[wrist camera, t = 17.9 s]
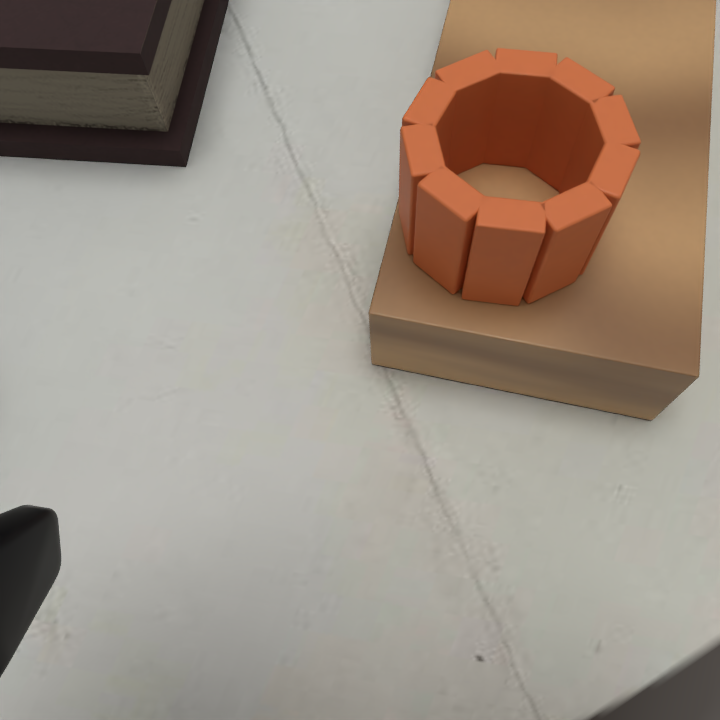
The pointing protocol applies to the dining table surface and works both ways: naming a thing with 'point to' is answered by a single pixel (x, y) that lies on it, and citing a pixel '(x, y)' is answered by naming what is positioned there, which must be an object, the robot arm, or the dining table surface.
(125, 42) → the book
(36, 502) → the dining table surface
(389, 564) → the dining table surface
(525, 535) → the dining table surface
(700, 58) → the wooden board
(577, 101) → the ring
